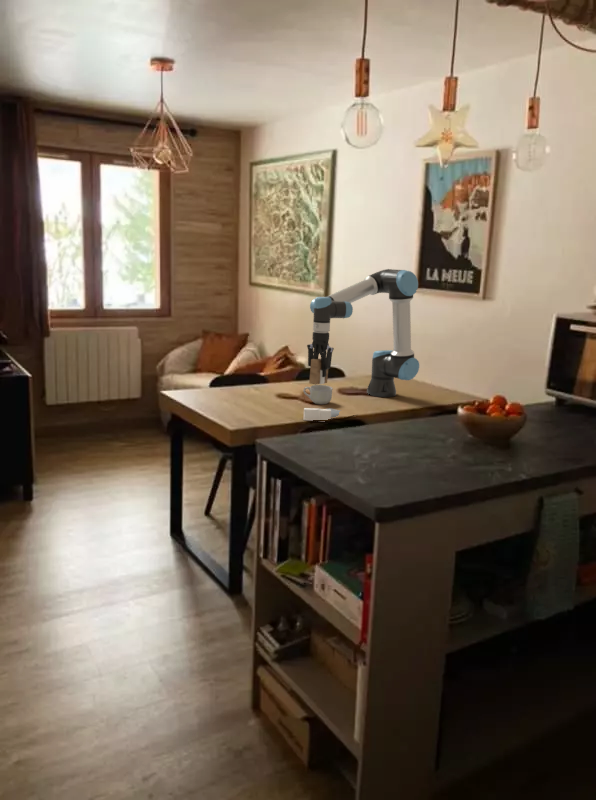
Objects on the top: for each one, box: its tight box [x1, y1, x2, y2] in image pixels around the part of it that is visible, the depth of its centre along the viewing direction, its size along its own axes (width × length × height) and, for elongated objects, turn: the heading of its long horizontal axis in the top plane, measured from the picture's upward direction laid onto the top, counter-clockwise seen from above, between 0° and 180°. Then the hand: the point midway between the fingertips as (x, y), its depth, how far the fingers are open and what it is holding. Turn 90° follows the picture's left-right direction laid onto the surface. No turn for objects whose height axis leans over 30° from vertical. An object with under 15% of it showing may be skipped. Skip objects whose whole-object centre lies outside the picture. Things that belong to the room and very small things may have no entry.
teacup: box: [303, 384, 334, 405], centre depth 326 cm, size 14×11×8 cm
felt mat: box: [327, 407, 341, 417], centre depth 305 cm, size 14×16×1 cm
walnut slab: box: [308, 357, 329, 385], centre depth 307 cm, size 9×4×11 cm, turn 142°
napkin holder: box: [303, 407, 332, 421], centre depth 293 cm, size 15×11×6 cm
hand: (318, 382), depth 309 cm, fingers closed on walnut slab, 3 cm apart
